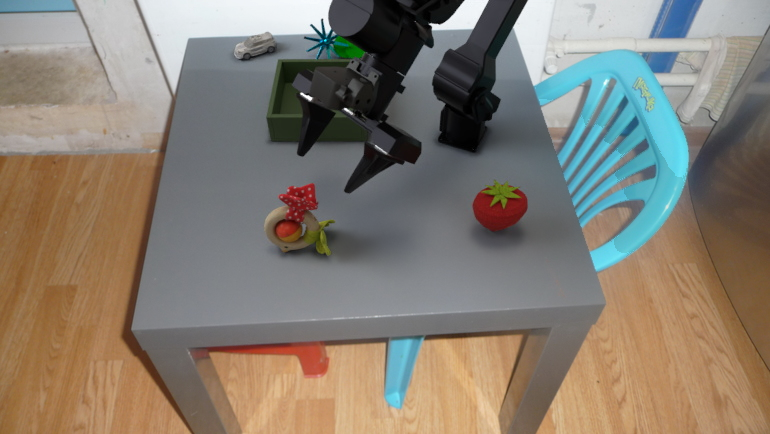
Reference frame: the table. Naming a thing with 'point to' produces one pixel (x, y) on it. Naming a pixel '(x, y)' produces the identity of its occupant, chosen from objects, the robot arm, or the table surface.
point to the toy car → (255, 46)
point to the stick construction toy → (334, 44)
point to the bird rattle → (297, 221)
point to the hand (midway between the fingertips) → (322, 173)
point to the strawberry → (499, 206)
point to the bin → (288, 110)
